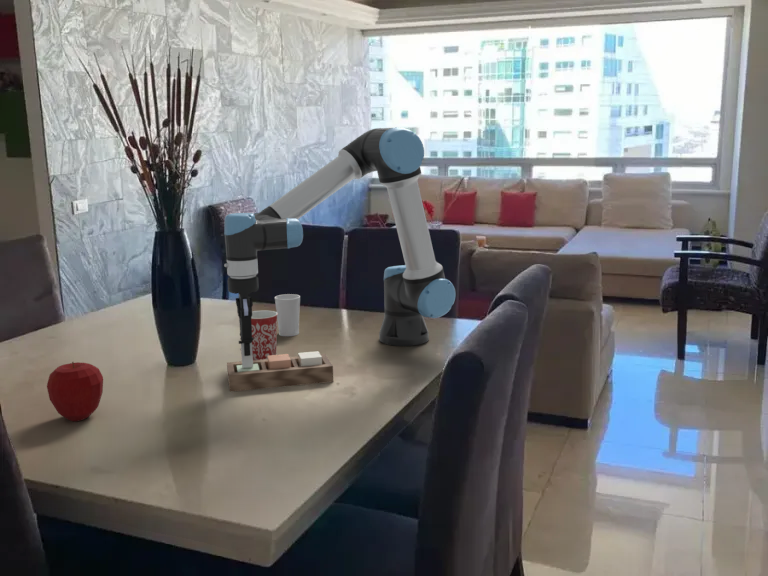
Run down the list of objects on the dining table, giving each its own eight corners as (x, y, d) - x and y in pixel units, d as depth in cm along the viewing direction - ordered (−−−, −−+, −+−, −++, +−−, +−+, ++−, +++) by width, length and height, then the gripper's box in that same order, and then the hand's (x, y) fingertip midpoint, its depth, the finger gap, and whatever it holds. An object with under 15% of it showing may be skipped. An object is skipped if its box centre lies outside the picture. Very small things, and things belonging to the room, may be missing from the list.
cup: (297, 337, 233) (296, 299, 231) (273, 336, 234) (271, 299, 232) (304, 330, 241) (302, 294, 238) (280, 330, 242) (278, 293, 239)
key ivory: (318, 364, 197) (318, 351, 197) (322, 370, 192) (321, 356, 192) (298, 366, 196) (298, 352, 195) (301, 372, 191) (300, 358, 190)
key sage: (258, 376, 194) (257, 363, 193) (260, 383, 189) (259, 369, 188) (237, 378, 193) (236, 365, 192) (238, 385, 188) (237, 371, 187)
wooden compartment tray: (325, 368, 201) (325, 354, 200) (333, 381, 191) (332, 366, 190) (227, 378, 195) (226, 362, 194) (229, 391, 184) (228, 375, 184)
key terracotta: (288, 366, 196) (288, 353, 195) (291, 373, 190) (290, 359, 190) (268, 368, 194) (267, 355, 194) (270, 375, 189) (269, 361, 188)
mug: (276, 365, 205) (274, 317, 202) (244, 365, 205) (241, 318, 203) (284, 352, 217) (282, 307, 215) (253, 352, 218) (251, 307, 215)
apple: (115, 417, 169) (110, 360, 166) (63, 431, 161) (57, 372, 158) (93, 404, 177) (87, 350, 175) (42, 417, 170) (36, 361, 167)
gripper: (226, 272, 190) (231, 360, 195) (228, 281, 178) (234, 375, 183) (255, 270, 192) (260, 358, 197) (260, 279, 180) (264, 373, 185)
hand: (247, 366), depth 190 cm, fingers closed
